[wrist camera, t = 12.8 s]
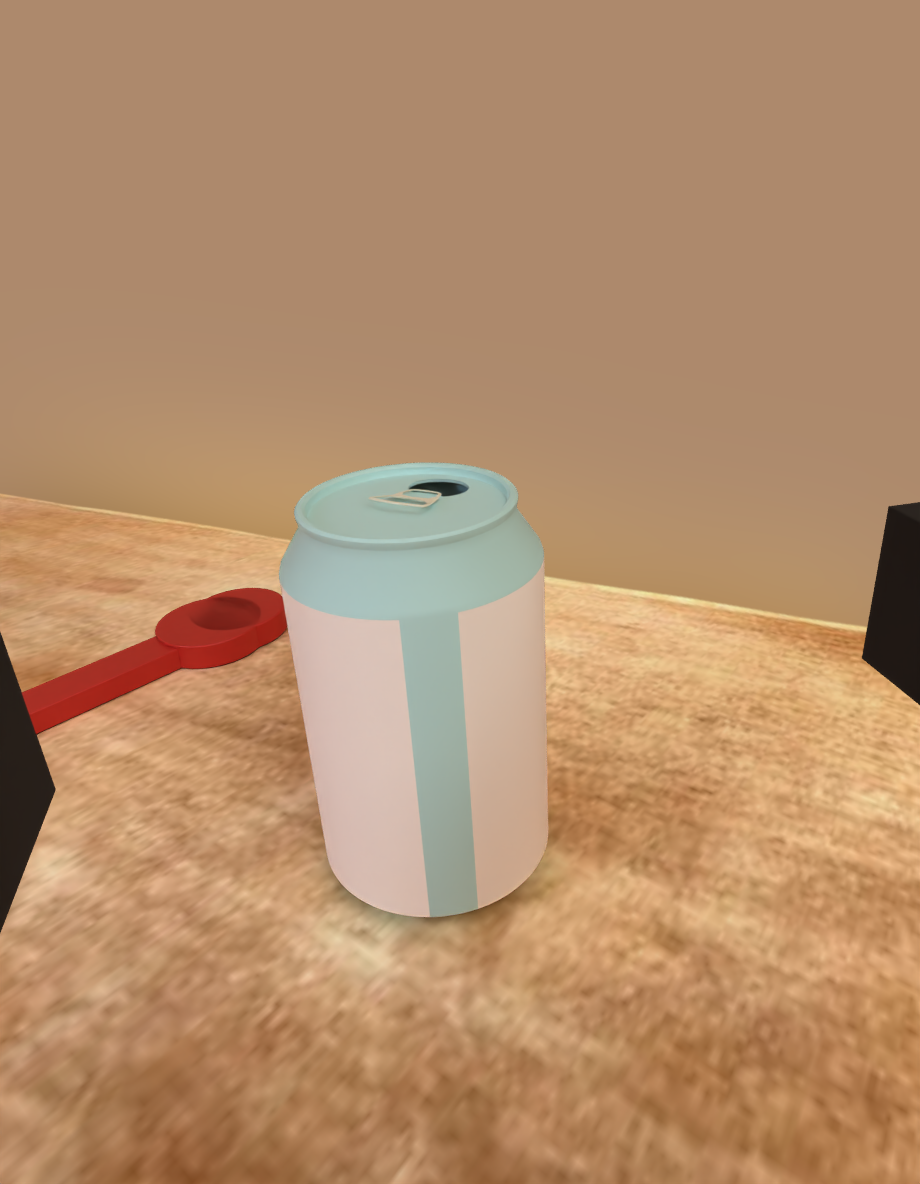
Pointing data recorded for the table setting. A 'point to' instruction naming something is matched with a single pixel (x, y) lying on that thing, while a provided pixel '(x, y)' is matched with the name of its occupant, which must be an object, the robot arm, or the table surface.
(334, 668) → the can
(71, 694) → the spoon
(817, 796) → the table surface
